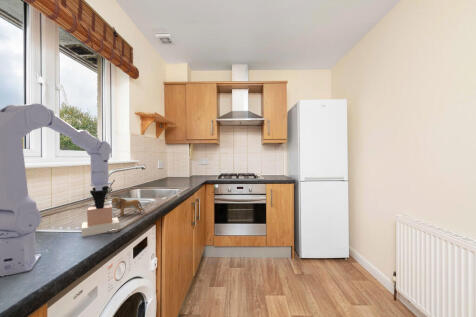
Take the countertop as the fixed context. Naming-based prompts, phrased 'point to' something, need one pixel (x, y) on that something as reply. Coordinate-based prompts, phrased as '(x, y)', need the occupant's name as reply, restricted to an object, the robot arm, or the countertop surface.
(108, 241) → the countertop surface
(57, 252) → the countertop surface
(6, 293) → the countertop surface
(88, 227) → the cream base brick
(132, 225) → the countertop surface
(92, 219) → the terracotta brick
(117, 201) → the lion figurine
